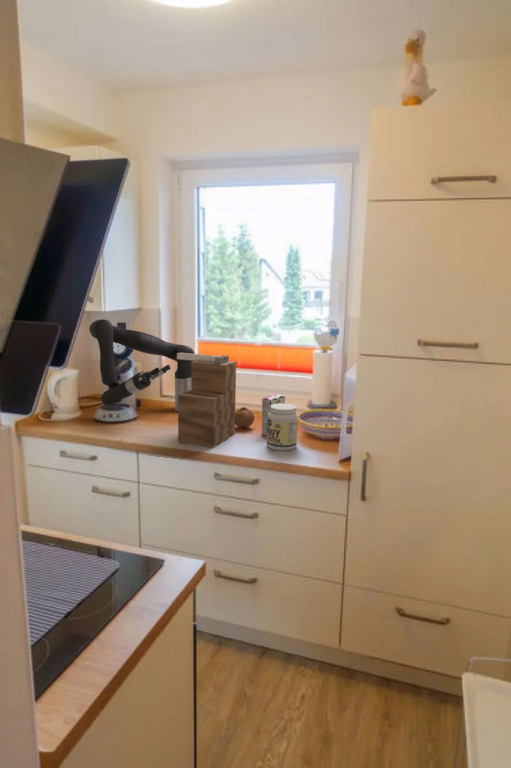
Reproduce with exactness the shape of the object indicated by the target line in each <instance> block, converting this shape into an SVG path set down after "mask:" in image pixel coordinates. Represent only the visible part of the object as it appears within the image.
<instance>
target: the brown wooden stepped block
mask: <svg viewBox="0 0 511 768" xmlns="http://www.w3.org/2000/svg"><path fill="white" fill-rule="evenodd" d="M236 382H237V361H233V360H232V361H230V360H229V362H226V363H223V364H215V362H204V361H193V362H191V390H190V391H188V392H185V393H182V394H180V395H178V412H177V421H178V422H177V423H178V426H177V427H178V428H177V429H178V430H177V432H178V436H177V437H178V438H177V439H178V440H177V441H178V442H179V443H178V444H184V443H186V444H185V445H190V444H192V446H196V445H197V447H203V448H210V449H214V448H216V447H218V446H219V445H220V444H223V443H224V442H225V441H226V440H228V439H229V438H232V437H233V436H234V435H235V434H236V425H235V412H236V393H237V391H236V386H237V385H236V384H237V383H236Z"/></svg>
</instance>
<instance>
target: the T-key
mask: <svg viewBox="0 0 511 768" xmlns="http://www.w3.org/2000/svg"><path fill="white" fill-rule="evenodd" d="M177 359H182V360H193V361H204V362H215V364H223V363H226V362H229V361H230V356H229V355H211V354H201V353H195V354H190V353H177Z"/></svg>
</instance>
